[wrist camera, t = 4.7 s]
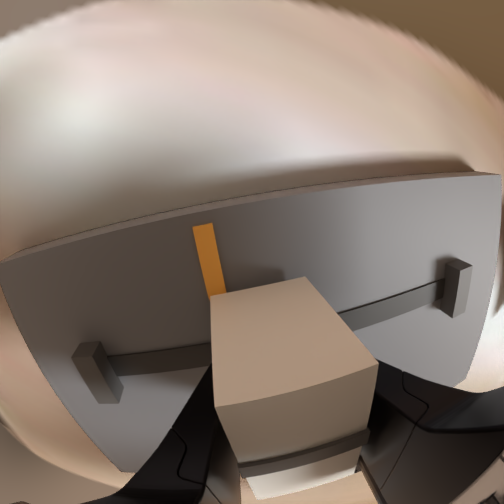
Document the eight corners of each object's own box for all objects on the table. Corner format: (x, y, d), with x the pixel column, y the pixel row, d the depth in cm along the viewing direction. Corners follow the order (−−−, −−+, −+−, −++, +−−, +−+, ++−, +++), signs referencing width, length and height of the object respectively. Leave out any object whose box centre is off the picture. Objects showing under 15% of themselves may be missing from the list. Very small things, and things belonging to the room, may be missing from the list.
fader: (306, 275, 9) (384, 366, 4) (313, 386, 10) (356, 476, 6) (208, 296, 8) (211, 412, 4) (238, 404, 10) (256, 503, 5)
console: (475, 171, 11) (523, 178, 8) (450, 364, 16) (477, 390, 12) (18, 251, 9) (-29, 279, 6) (125, 449, 13) (118, 491, 10)
